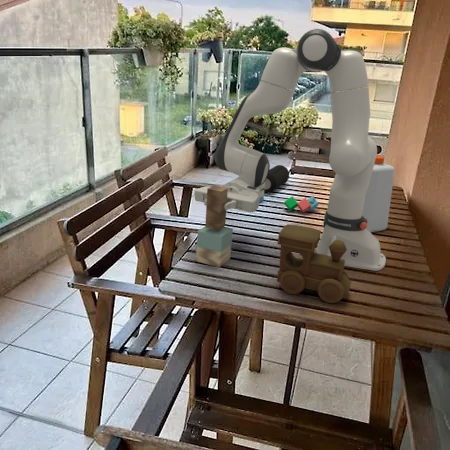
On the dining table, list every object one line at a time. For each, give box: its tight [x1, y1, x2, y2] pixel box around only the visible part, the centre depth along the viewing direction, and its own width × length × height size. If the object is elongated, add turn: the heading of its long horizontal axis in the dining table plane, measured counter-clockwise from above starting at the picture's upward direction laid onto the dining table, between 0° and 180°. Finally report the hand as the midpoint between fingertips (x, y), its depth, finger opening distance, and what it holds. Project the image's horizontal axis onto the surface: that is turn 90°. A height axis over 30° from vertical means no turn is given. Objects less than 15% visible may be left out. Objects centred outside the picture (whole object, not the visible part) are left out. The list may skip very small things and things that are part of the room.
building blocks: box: [284, 195, 319, 214], centre depth 189 cm, size 8×8×12 cm
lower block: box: [195, 244, 232, 268], centre depth 138 cm, size 8×8×5 cm
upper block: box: [196, 226, 234, 252], centre depth 136 cm, size 8×8×5 cm
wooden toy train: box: [276, 223, 352, 304], centre depth 121 cm, size 20×11×17 cm, turn 69°
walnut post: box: [204, 185, 228, 230], centre depth 133 cm, size 4×4×12 cm
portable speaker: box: [264, 164, 290, 194], centre depth 219 cm, size 26×10×10 cm, turn 155°
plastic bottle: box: [362, 155, 395, 233], centre depth 172 cm, size 15×15×28 cm
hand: (215, 205), depth 132 cm, fingers closed on walnut post, 4 cm apart
